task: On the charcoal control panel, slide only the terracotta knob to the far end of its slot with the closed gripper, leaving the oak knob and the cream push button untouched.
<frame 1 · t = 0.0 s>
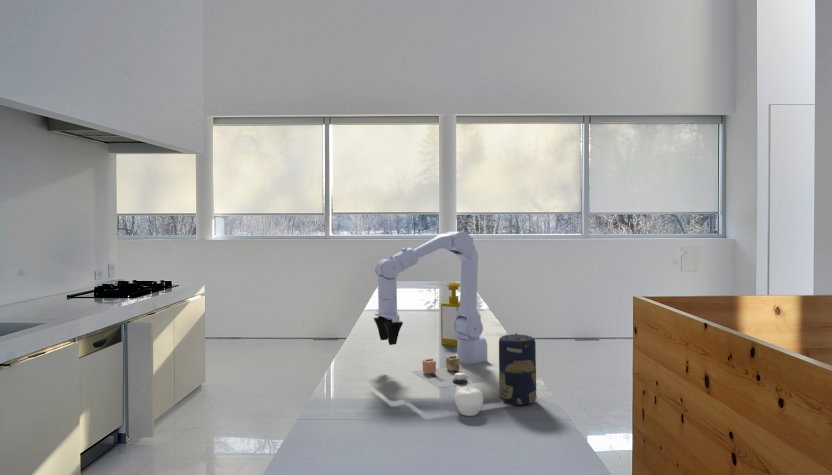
hand: (388, 342, 182), 10 cm above the kitchen island, fingers open, 7 cm apart
canister: (517, 402, 154), on the kitchen island
button: (460, 376, 169), point 3 cm above the kitchen island, slide at 0.0 cm
soap bottle: (457, 342, 229), on the kitchen island
panel: (447, 380, 175), on the kitchen island
plain white apple: (469, 414, 145), on the kitchen island
terracotta knob: (429, 365, 178), point 4 cm above the kitchen island, slide at 0.0 cm
oak knob: (452, 362, 182), point 4 cm above the kitchen island, slide at 0.0 cm
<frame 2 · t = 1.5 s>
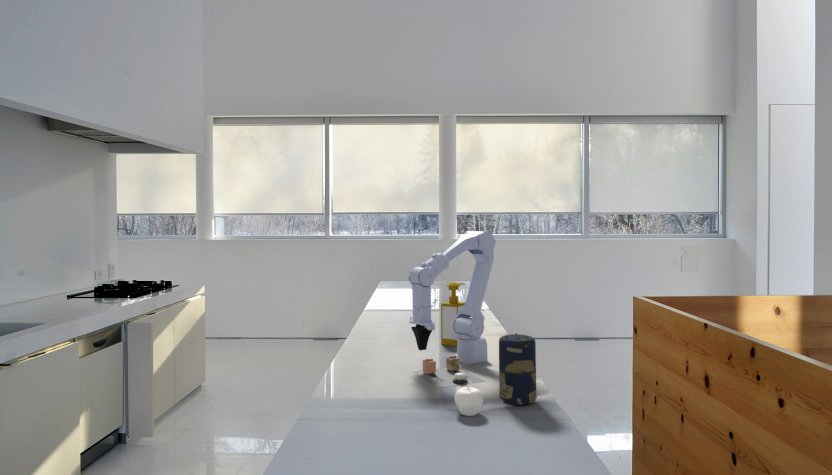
hand: (422, 349, 183), 7 cm above the kitchen island, fingers closed
nothing on the kitchen island moved.
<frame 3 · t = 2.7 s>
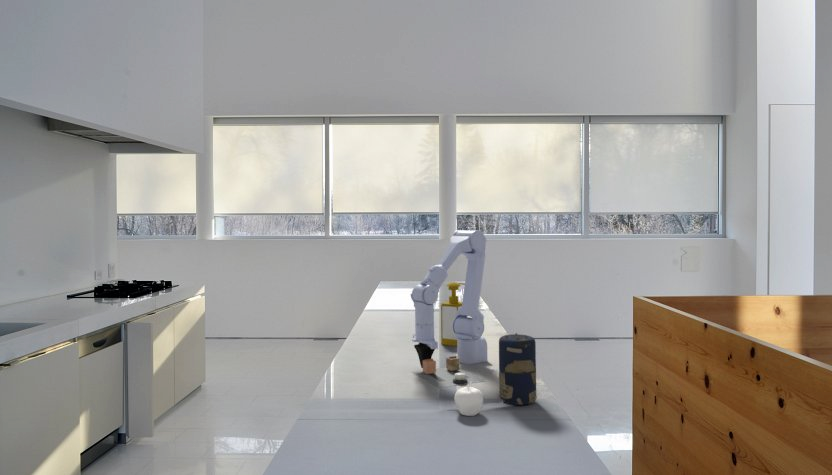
hand: (425, 367, 181), 2 cm above the kitchen island, fingers closed
terracotta knob: (429, 365, 178), point 4 cm above the kitchen island, slide at 0.0 cm, touching gripper
everything else where it was.
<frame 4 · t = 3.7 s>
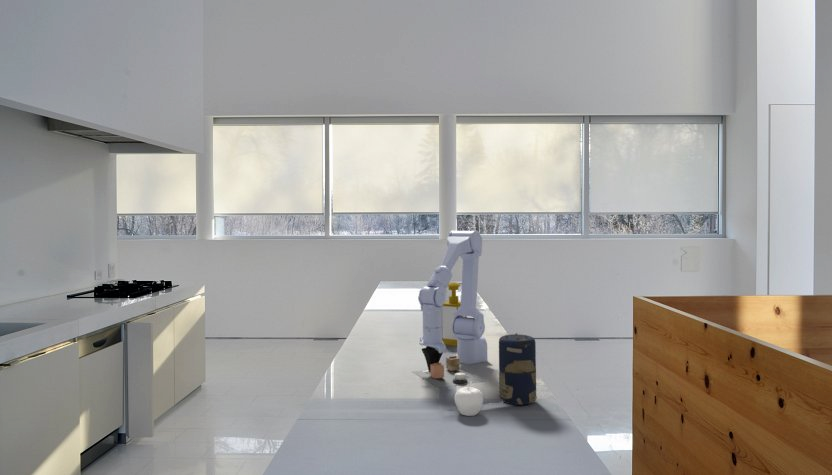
hand: (432, 372, 176), 2 cm above the kitchen island, fingers closed
terracotta knob: (437, 369, 173), point 4 cm above the kitchen island, slide at 5.7 cm, touching gripper
everything else where it was.
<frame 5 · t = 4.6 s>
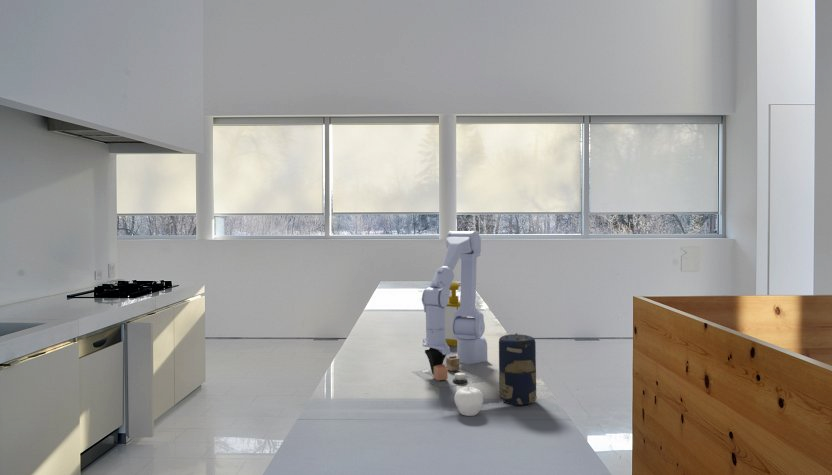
hand: (436, 373, 174), 2 cm above the kitchen island, fingers closed
terracotta knob: (440, 371, 171), point 4 cm above the kitchen island, slide at 7.9 cm, touching gripper
everything else where it was.
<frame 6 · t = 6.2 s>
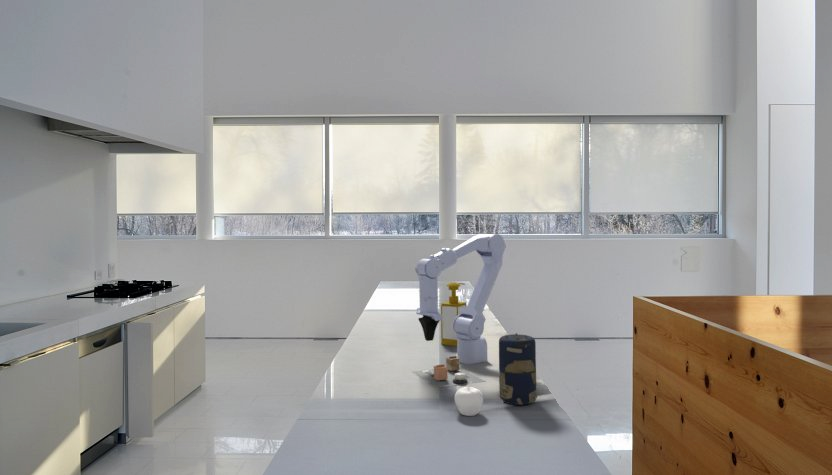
hand: (429, 340, 185), 10 cm above the kitchen island, fingers closed
terracotta knob: (440, 371, 171), point 4 cm above the kitchen island, slide at 8.0 cm
everything else where it was.
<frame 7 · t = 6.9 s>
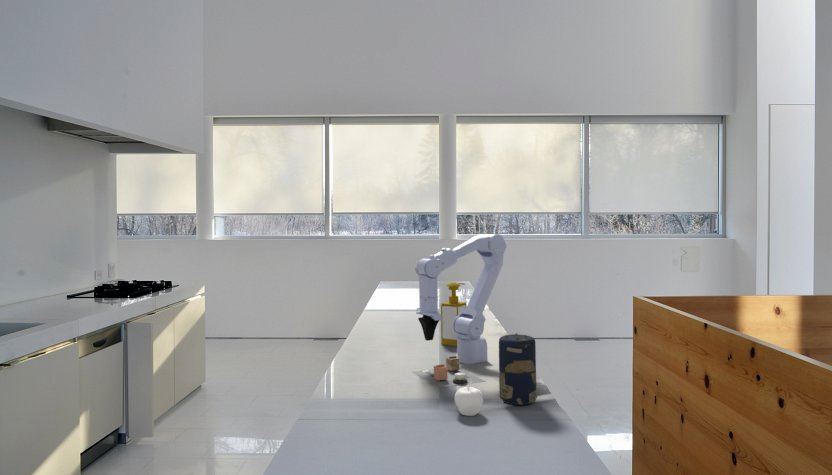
hand: (429, 340, 185), 10 cm above the kitchen island, fingers closed
nothing on the kitchen island moved.
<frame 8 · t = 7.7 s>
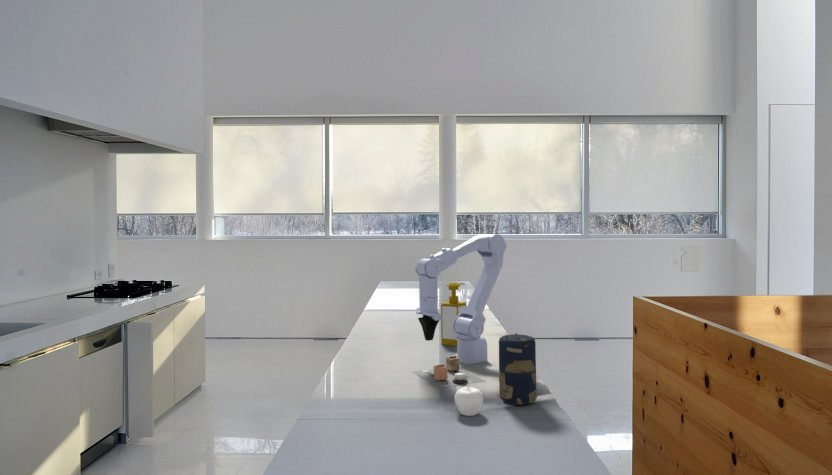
hand: (429, 340, 185), 10 cm above the kitchen island, fingers closed
nothing on the kitchen island moved.
at the end: terracotta knob slide at 8.0 cm; oak knob slide at 0.0 cm; button slide at 0.0 cm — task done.
